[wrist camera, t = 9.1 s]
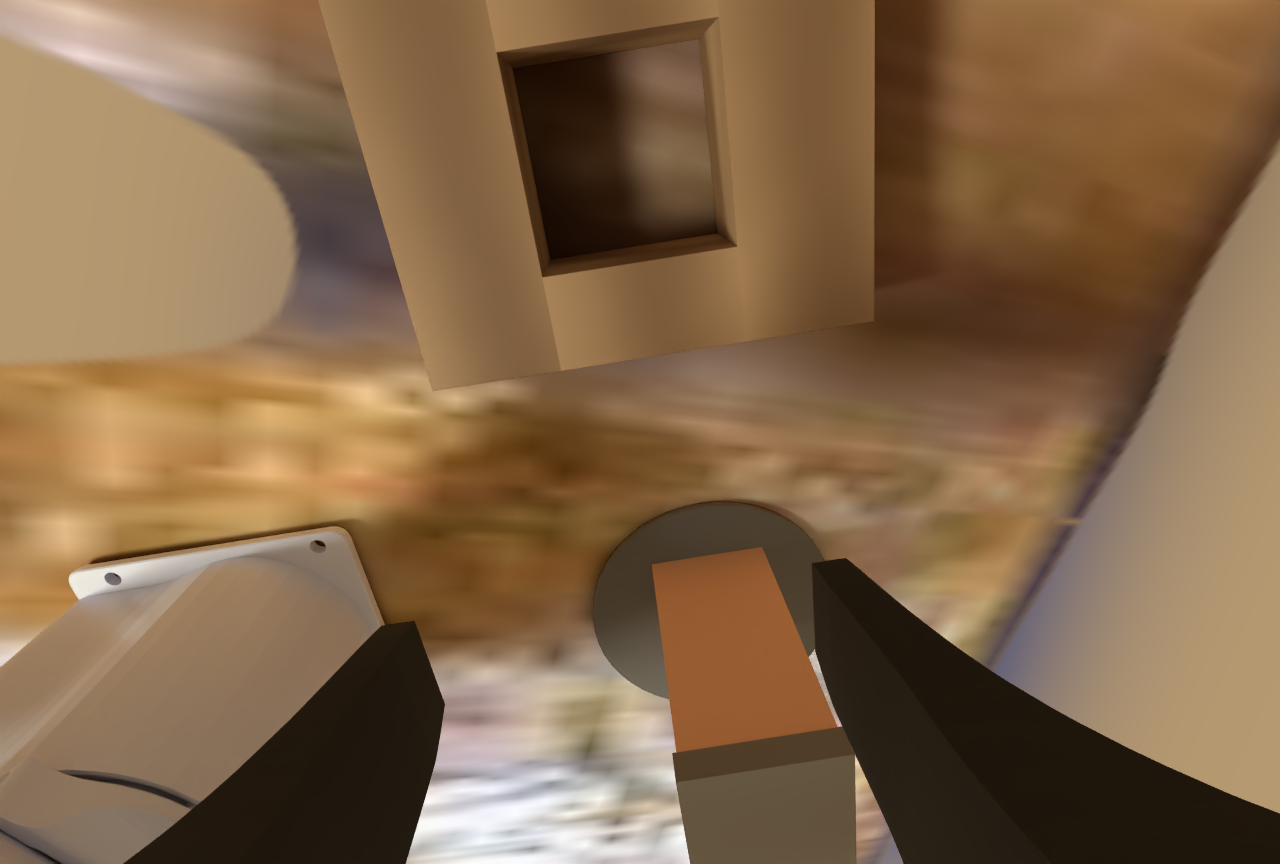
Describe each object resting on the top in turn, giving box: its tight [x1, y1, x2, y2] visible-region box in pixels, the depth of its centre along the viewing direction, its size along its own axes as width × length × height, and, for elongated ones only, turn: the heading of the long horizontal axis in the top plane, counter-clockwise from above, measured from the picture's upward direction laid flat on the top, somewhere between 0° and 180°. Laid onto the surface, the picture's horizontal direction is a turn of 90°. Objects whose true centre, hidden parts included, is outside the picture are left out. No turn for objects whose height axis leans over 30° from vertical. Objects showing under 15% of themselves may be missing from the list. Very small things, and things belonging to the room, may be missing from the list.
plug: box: [652, 547, 856, 864], centre depth 20 cm, size 4×4×9 cm
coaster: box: [593, 502, 824, 699], centre depth 24 cm, size 9×9×1 cm
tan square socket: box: [318, 0, 875, 391], centre depth 17 cm, size 12×10×3 cm
